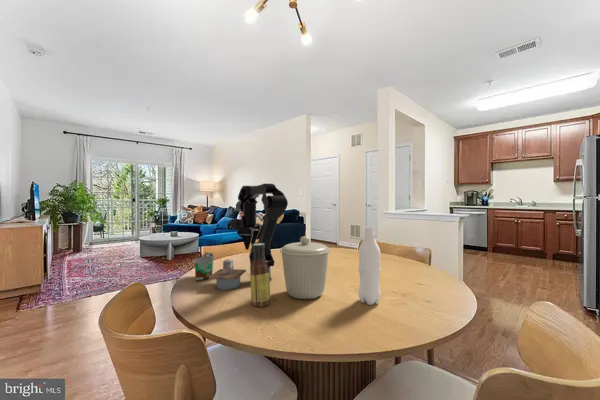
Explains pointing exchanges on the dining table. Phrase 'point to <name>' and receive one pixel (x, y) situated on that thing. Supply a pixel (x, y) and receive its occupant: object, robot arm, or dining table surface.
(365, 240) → the water bottle
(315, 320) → the dining table surface
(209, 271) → the food container
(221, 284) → the bowl
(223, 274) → the lid
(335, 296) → the dining table surface
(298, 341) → the dining table surface
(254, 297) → the sauce bottle
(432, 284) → the dining table surface
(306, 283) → the canister
